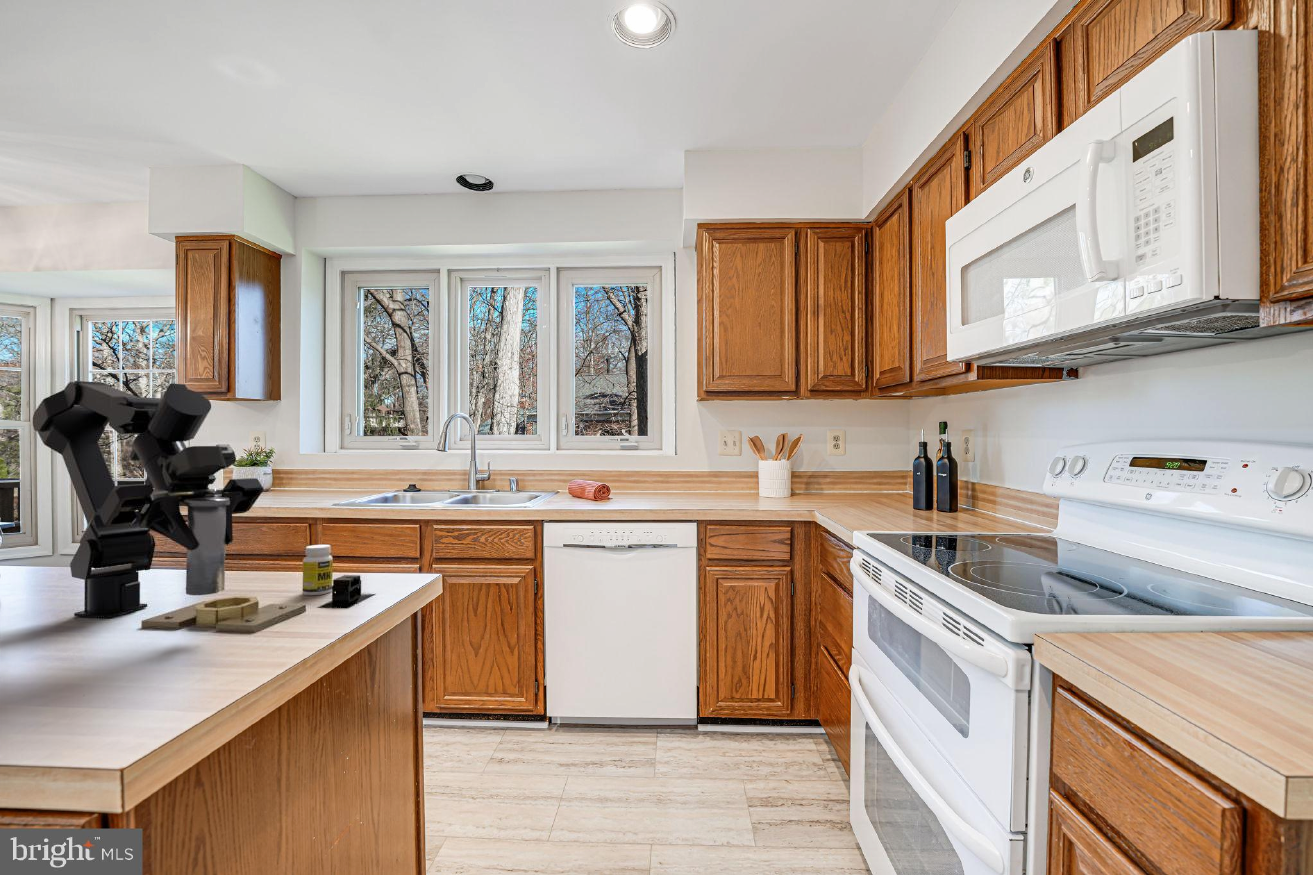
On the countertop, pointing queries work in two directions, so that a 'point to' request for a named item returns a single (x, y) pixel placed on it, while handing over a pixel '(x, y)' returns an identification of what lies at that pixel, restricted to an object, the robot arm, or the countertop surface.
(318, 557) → the supplement bottle
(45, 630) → the countertop surface
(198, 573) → the hinge pin
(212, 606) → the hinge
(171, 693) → the countertop surface
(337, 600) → the black notched mount
